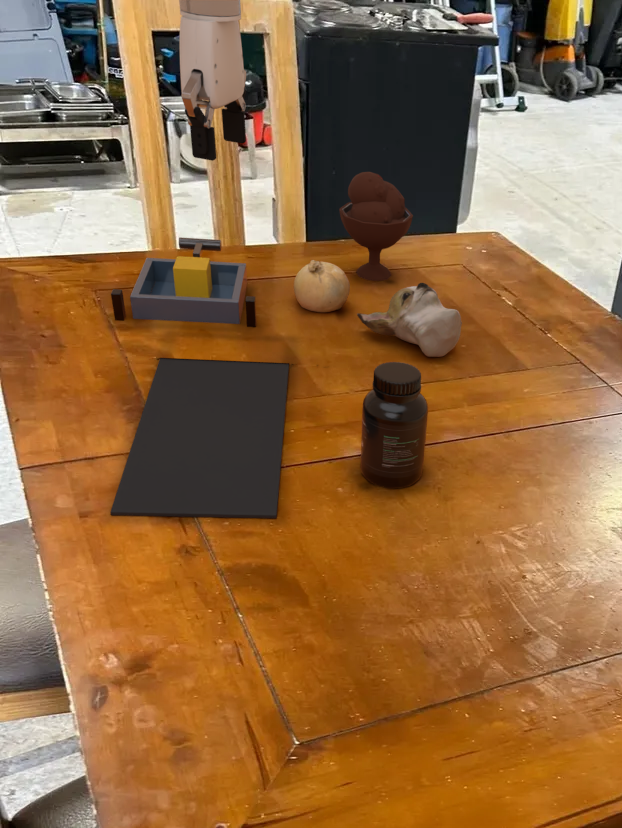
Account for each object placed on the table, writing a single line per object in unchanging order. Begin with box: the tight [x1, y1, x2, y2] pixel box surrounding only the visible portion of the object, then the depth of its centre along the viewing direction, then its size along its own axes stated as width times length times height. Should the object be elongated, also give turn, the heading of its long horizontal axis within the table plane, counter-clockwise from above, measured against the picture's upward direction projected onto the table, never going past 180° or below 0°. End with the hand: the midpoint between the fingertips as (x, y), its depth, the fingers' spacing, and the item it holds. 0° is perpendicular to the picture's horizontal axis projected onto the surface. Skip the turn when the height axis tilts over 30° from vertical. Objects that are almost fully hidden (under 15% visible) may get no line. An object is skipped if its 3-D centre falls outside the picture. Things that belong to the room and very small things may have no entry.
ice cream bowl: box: [339, 171, 414, 282], centre depth 135 cm, size 11×11×15 cm
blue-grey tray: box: [129, 237, 248, 325], centre depth 126 cm, size 20×14×5 cm
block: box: [173, 255, 212, 298], centre depth 125 cm, size 4×4×4 cm
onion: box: [293, 259, 351, 313], centre depth 126 cm, size 8×8×7 cm
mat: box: [109, 357, 290, 519], centre depth 103 cm, size 16×42×1 cm, turn 6°
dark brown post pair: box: [110, 288, 258, 328], centre depth 119 cm, size 2×18×4 cm, turn 96°
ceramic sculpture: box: [356, 282, 463, 358], centre depth 120 cm, size 11×9×15 cm
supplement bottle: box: [360, 361, 429, 489], centre depth 93 cm, size 7×7×12 cm
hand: (220, 149), depth 123 cm, fingers open, 9 cm apart
